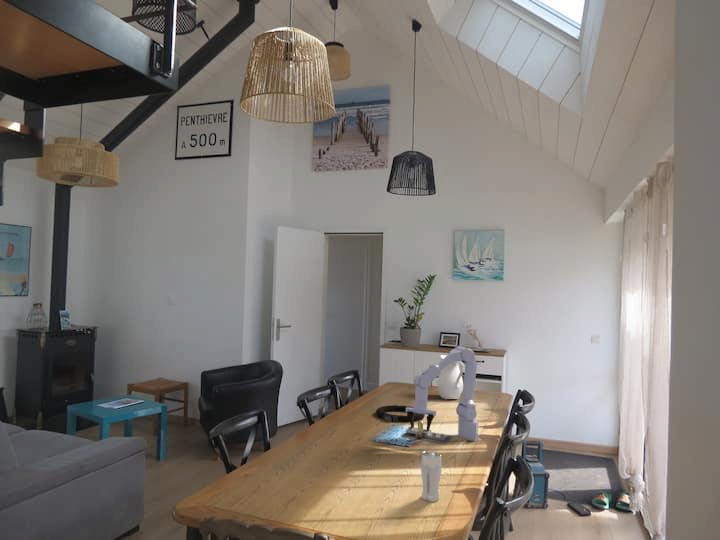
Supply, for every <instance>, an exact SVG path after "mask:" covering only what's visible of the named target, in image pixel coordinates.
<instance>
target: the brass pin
mask: <svg viewBox="0 0 720 540" xmlns="http://www.w3.org/2000/svg"><path fill="white" fill-rule="evenodd" d="M417 428H418V437H417V439H423V429H424V421H423V420H420V421H417Z"/></svg>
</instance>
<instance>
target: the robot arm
mask: <svg viewBox="0 0 720 540" xmlns="http://www.w3.org/2000/svg"><path fill="white" fill-rule="evenodd" d="M475 354H476V353H475V352H474V350H472V349H471V348H469V347H464V346H461V345H457V346H455V347H454V348H452V349H451V350H450V352H449V353H448V354H446V355H447V356H446V357H445V358H443V359H442V358H441V360H440V361H439V362H438V363H436V364H429V366H428V368H426V369H425V370H423V371H421V373H419V374H416V376H415V377H414V379H413V383H414V385H415V392H414V393H415V395H414V396H415V397H414V400H415V401H414V408H409V407H407V408H406V412H405V413H407V414H406V416H408V418H409V421H410V422H409V423H410V427H411V428H412V429H413V428H415V422H414V416H415V415H416V414H415V413H419V414H425V416H426V429H427V431H429V430H431V429H430V428H431V424H432V422H433V420H434V418H435V417H436V416H437V411H436V410H432V409H428V390H429V387H430V385H431V383H432V381H434V380H435V379H436V378H438V377H439V375H440V374H441V370H442V369H444V368H445V367H446V366H448V365H449V364H451V363H452V362H454V361H461V362H462V363H463V364H464V374H463V390H462V393H461V398H460V399H458V404H457V406H456V410H455V411H456V415H457V416H458V421H457V422H458V424H457V425H458V426H457V429H458V430H457V435H458V437H460V438H463V439H466V440H467V441H470V442H476V441H477V440H478V439H479V421H478V420H475V419H476V418H477V414H478V413H477V409H476V408H477V407H476V406H477V405H476V403H475V402H474V394H475V384H476V376H477V366H478V363H477V360H476V356H475Z"/></svg>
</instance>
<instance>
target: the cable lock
mask: <svg viewBox="0 0 720 540" xmlns="http://www.w3.org/2000/svg"><path fill="white" fill-rule="evenodd" d="M407 407H409V408H415V406H414V407H413V406H409V405H408V406H407V405H397V404H394V405H383V406H380V407H378V408H377V409H376V411H375V415H376V416H377V417H378V418H380V419H382V420H384V421H385V422H386V423H410V421H409V418H408V416H407V415H404V414H403V415H401V414H400V415H398V414H390V413H391V412H404V413H407V412H406V408H407ZM389 412H390V413H389ZM425 417H426V414H419V413H415V416H414V423H415V422H418V421H423V419H424V418H425Z"/></svg>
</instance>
